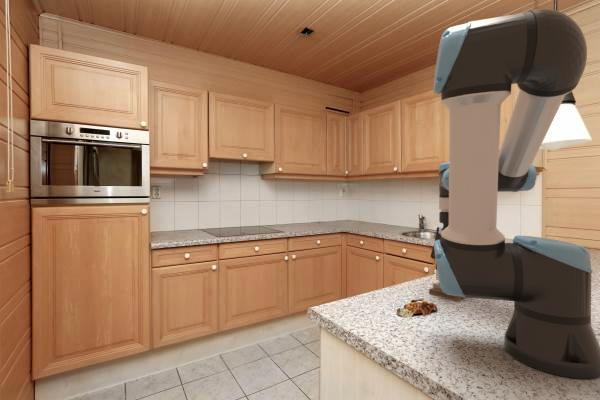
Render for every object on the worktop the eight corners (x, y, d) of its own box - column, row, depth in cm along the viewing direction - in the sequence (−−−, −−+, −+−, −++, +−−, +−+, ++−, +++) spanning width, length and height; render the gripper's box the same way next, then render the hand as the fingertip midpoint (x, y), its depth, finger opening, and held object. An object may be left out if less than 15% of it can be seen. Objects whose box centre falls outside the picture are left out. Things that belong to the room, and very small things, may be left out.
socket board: (456, 301, 91) (456, 291, 91) (429, 293, 98) (429, 284, 98) (476, 293, 98) (476, 283, 98) (449, 286, 105) (449, 277, 105)
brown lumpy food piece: (391, 313, 84) (391, 301, 84) (418, 305, 90) (418, 293, 90) (412, 322, 78) (412, 308, 78) (440, 312, 84) (440, 299, 84)
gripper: (441, 213, 87) (441, 286, 88) (483, 209, 101) (484, 272, 102) (418, 212, 94) (418, 281, 94) (461, 208, 108) (461, 268, 108)
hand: (452, 277), depth 98 cm, fingers open, 13 cm apart
